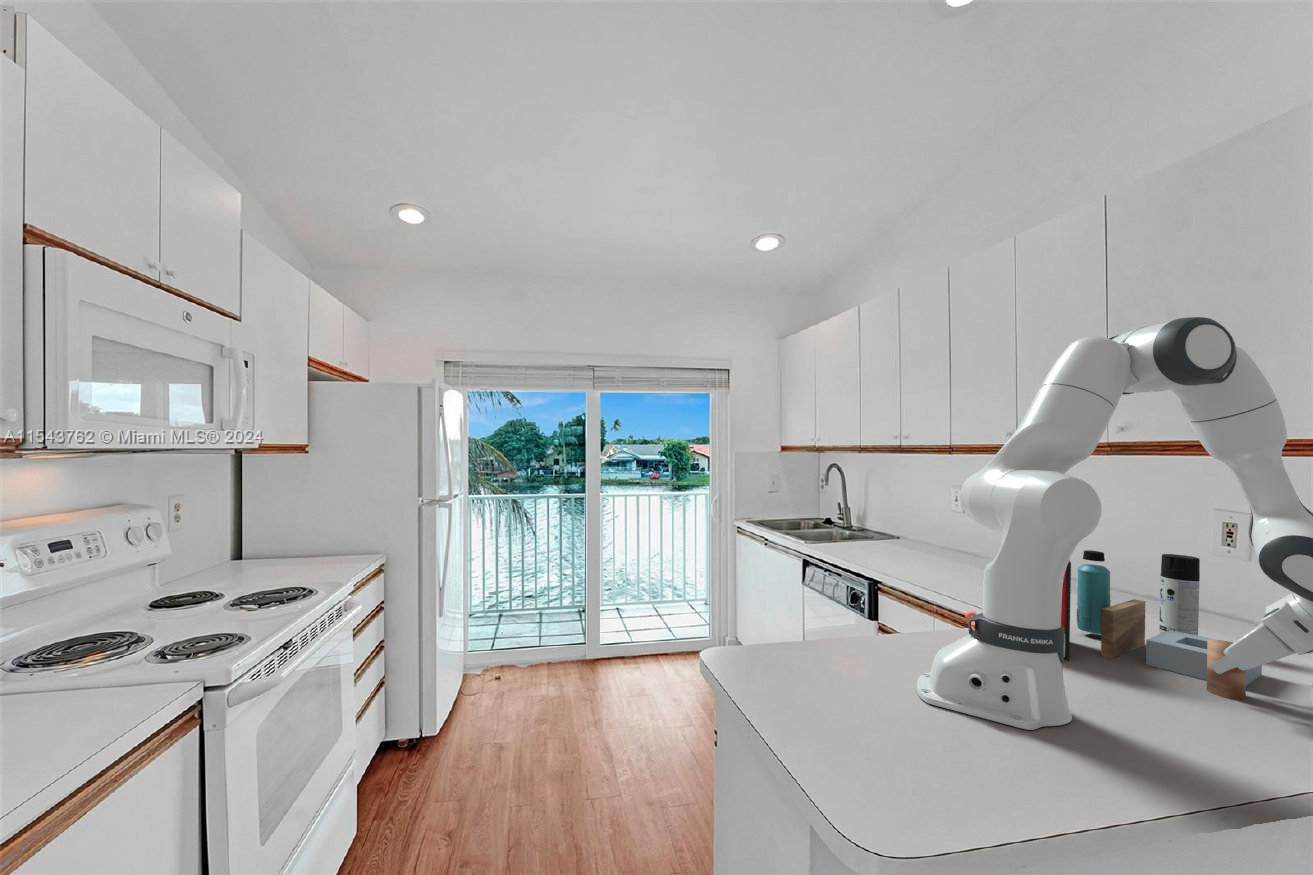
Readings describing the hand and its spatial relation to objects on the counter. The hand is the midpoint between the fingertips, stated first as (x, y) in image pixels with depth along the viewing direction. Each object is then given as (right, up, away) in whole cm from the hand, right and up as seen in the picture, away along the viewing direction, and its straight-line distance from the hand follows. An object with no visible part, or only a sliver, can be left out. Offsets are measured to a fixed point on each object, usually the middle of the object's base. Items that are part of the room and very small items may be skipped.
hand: (1221, 665), depth 106 cm
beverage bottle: (+1, -6, +32) cm, 33 cm away
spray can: (+18, -6, +29) cm, 35 cm away
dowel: (0, -5, -1) cm, 5 cm away
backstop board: (0, -5, +22) cm, 23 cm away
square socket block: (+7, -5, +11) cm, 15 cm away
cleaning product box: (-17, -5, +23) cm, 29 cm away
